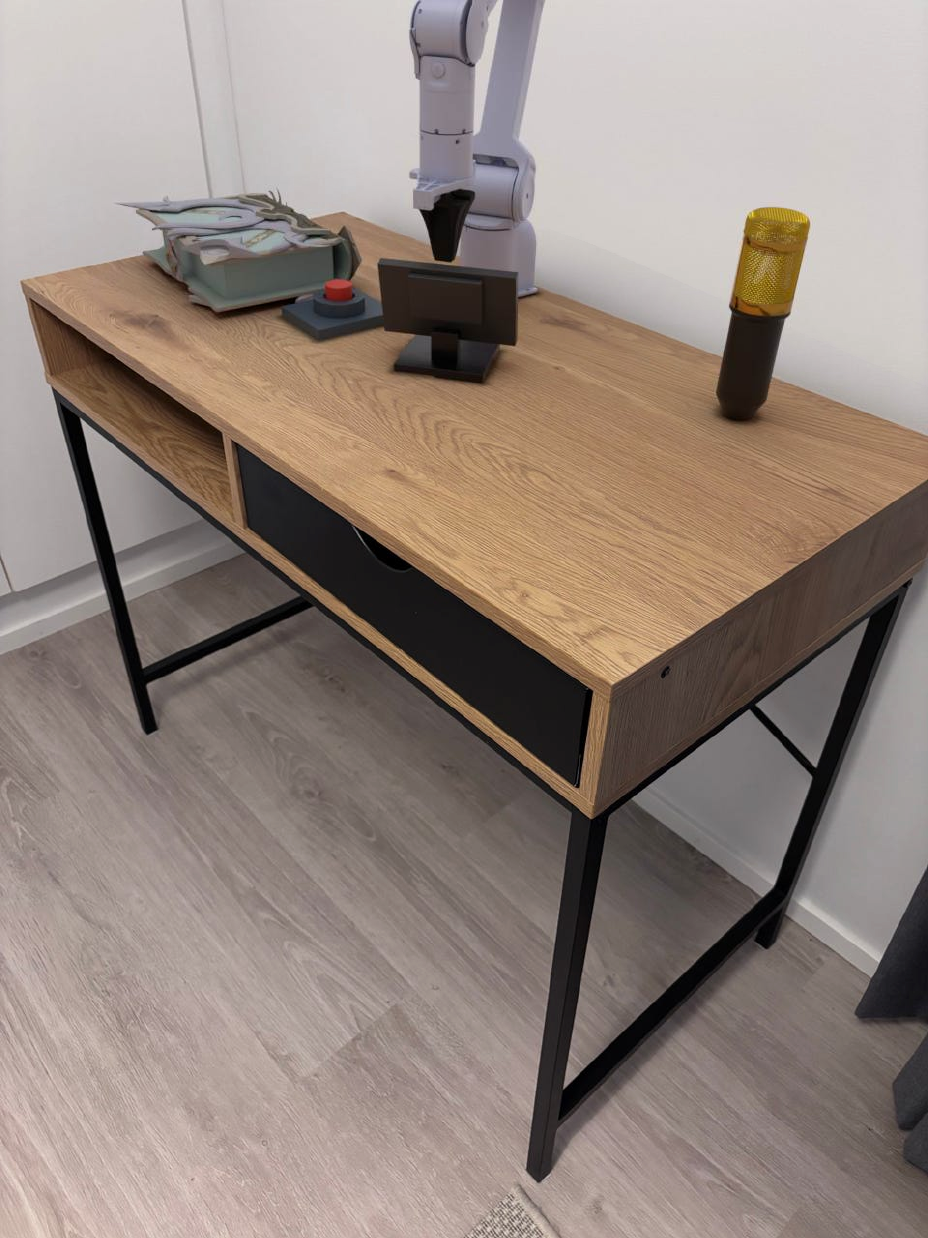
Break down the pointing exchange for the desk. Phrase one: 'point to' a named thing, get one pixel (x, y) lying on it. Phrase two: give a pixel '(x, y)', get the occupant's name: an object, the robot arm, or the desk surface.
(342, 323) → the switch box
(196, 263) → the ornate book
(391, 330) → the screen
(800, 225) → the microphone
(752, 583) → the desk surface
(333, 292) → the power button
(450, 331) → the monitor stand
